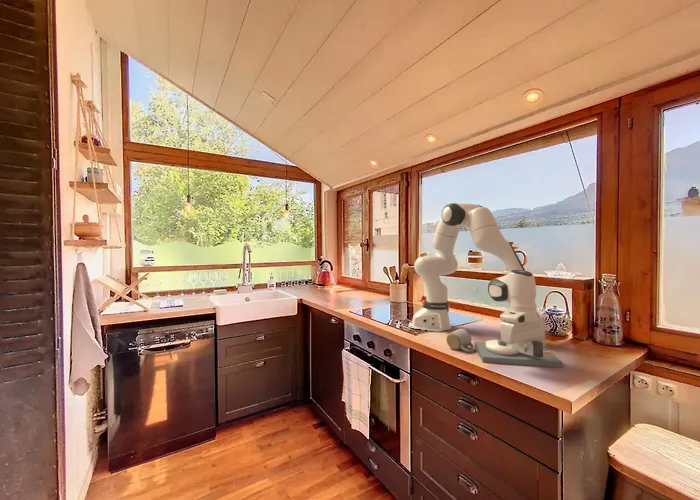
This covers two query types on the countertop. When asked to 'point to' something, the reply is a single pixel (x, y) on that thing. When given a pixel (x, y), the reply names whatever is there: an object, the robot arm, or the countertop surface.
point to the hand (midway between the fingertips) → (523, 351)
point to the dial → (514, 348)
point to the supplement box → (543, 334)
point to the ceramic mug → (460, 340)
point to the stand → (517, 357)
